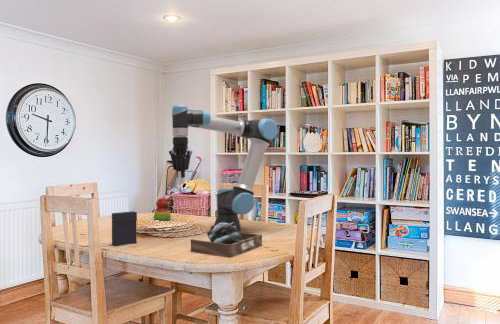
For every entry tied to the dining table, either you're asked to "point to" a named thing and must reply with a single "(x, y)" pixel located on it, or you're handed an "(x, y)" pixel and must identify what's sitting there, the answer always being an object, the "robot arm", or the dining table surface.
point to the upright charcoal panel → (124, 228)
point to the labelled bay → (228, 245)
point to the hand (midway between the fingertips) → (181, 184)
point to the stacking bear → (162, 210)
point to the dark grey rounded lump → (224, 233)
